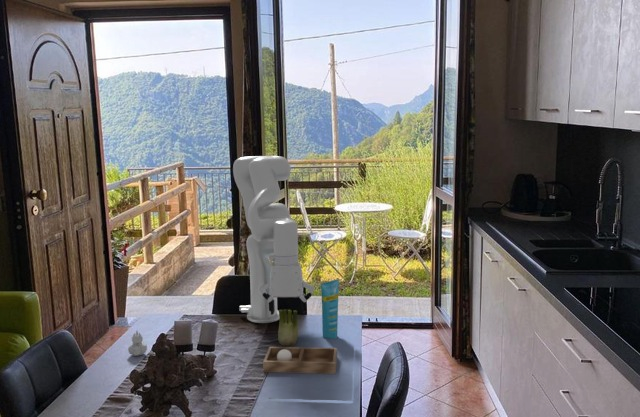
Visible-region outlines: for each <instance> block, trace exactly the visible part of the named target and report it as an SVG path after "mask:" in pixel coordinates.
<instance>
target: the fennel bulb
mask: <svg viewBox="0 0 640 417" xmlns="http://www.w3.org/2000/svg"><path fill="white" fill-rule="evenodd" d="M278 311H279V320H278V321H279V323H278V324H279V325H278V331H277V338H278V339H277V340H278V343H279V344H280V345H281V346H282V347H294V346H296V344H297V341H298V335H299V328H298V310H294V309H293V311H292V309H279V310H278Z"/></svg>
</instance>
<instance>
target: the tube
mask: <svg viewBox="0 0 640 417" xmlns="http://www.w3.org/2000/svg"><path fill="white" fill-rule="evenodd" d="M339 287H340V278H337V279H333V280H331V281H326V282H321V283H320V290H321V315H322V317H321V320H322V321H321V322H322V325H321V326H322V338H323V339H331V340H333V339H334V340H335V339H337V338H338V325H339V322H338V317H339V290H340V289H339Z"/></svg>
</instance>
